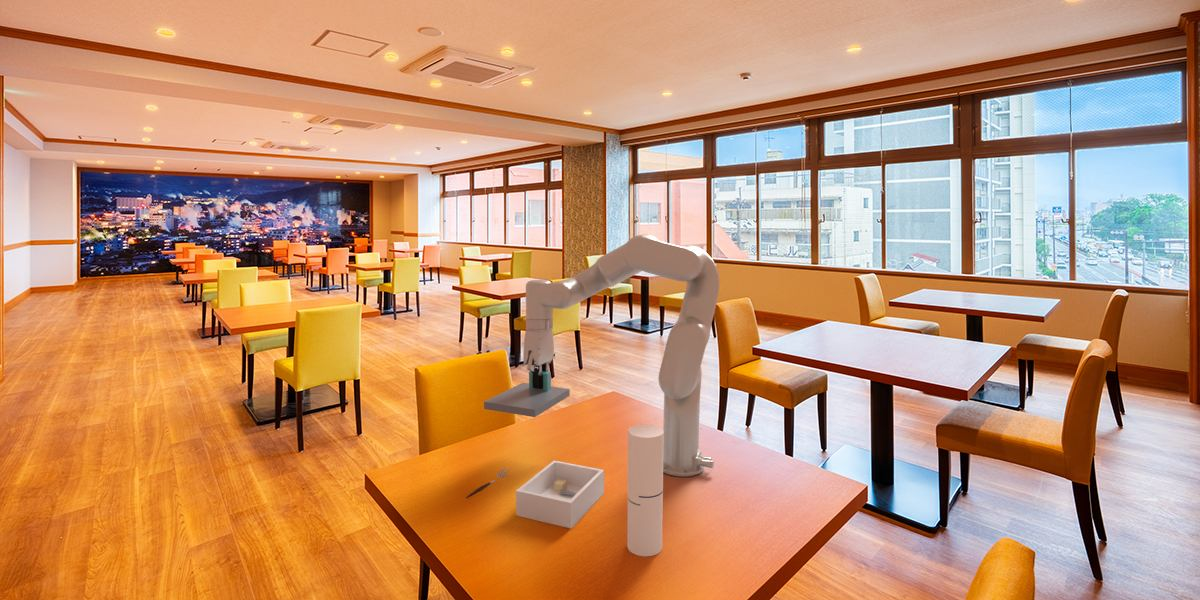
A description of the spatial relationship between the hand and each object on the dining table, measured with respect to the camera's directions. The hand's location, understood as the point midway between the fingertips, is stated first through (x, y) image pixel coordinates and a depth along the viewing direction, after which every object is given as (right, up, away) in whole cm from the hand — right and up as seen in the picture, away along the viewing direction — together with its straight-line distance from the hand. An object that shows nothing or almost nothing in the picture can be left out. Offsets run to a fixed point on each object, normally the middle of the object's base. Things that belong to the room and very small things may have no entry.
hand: (540, 386), depth 166 cm
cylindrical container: (+26, -26, -46) cm, 59 cm away
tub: (+8, -24, -28) cm, 38 cm away
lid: (-3, -3, -6) cm, 7 cm away
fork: (-12, -23, -19) cm, 32 cm away
